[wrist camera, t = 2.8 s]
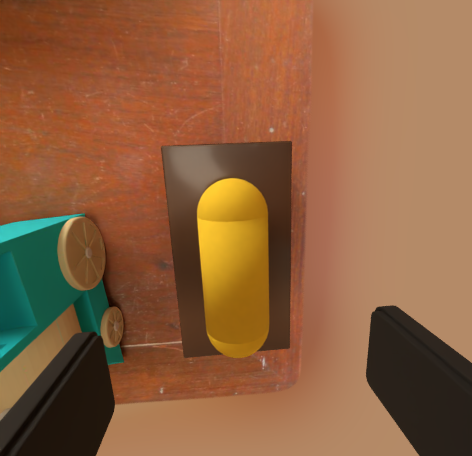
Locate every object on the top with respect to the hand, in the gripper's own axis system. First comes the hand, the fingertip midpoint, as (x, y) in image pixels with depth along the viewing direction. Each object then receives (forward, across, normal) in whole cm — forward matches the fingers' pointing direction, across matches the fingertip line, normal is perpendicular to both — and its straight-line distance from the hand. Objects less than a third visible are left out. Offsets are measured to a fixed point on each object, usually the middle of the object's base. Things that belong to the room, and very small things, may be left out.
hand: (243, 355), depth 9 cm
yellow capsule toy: (+9, 0, 0) cm, 9 cm away
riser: (+18, 0, 0) cm, 18 cm away
